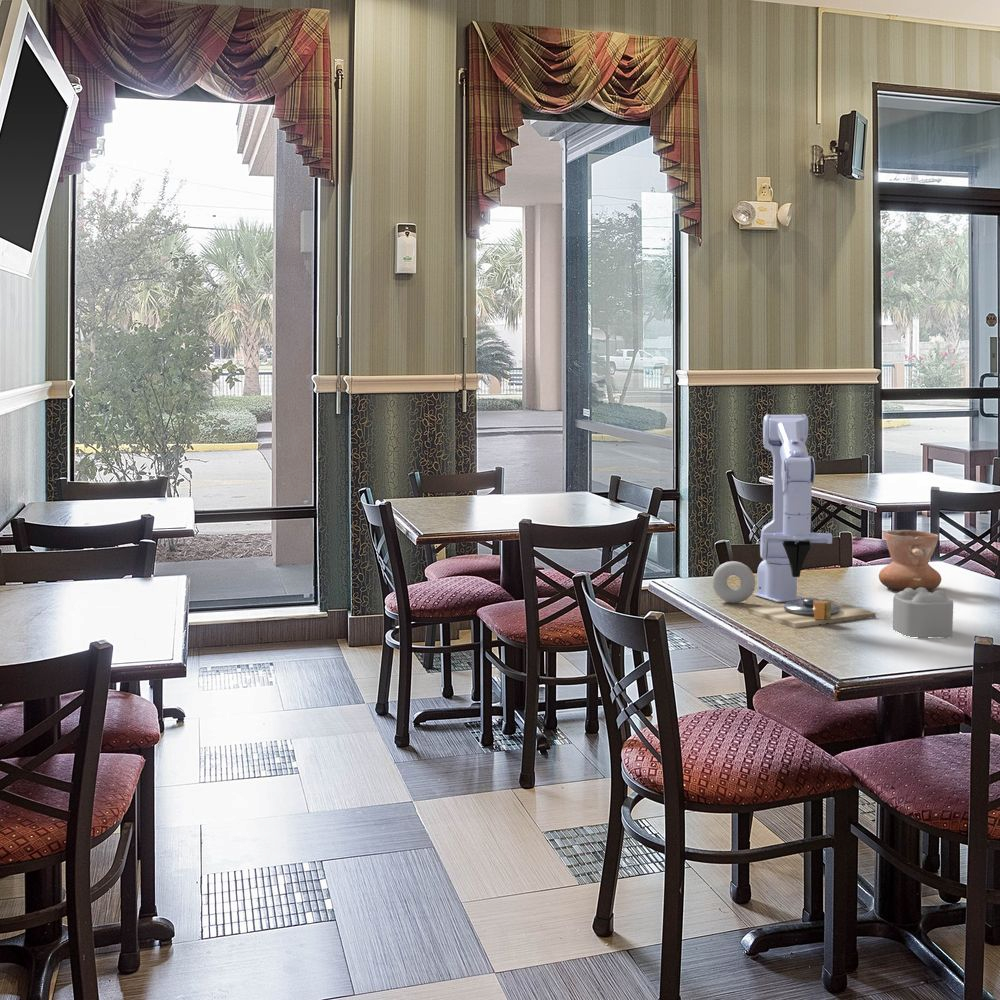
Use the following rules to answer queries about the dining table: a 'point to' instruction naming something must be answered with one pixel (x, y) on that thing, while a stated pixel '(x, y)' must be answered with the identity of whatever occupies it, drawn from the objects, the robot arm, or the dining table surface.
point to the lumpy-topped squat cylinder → (922, 613)
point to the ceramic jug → (910, 561)
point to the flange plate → (810, 607)
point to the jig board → (800, 620)
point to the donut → (740, 571)
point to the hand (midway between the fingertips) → (795, 576)
